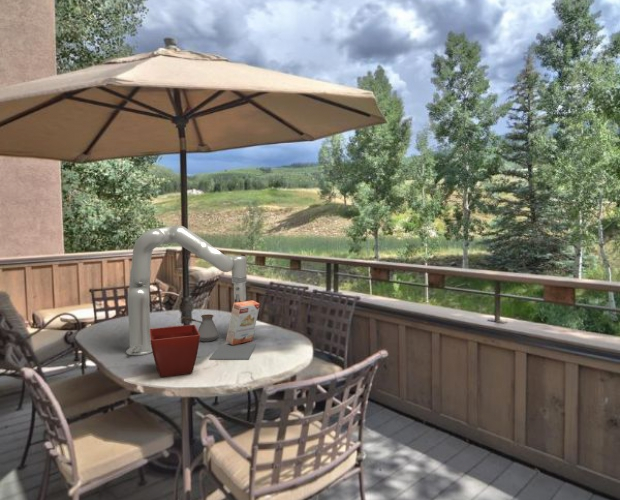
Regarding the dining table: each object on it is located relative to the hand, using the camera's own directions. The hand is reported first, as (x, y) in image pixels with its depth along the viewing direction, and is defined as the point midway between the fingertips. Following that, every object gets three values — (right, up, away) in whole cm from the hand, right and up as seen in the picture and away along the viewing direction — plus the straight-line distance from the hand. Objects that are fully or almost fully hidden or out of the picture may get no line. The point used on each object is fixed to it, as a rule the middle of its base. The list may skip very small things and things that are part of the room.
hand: (239, 315), depth 227 cm
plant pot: (-21, -18, -41) cm, 49 cm away
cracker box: (0, -13, -1) cm, 14 cm away
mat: (0, -15, -16) cm, 22 cm away
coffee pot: (-21, -14, +1) cm, 25 cm away
